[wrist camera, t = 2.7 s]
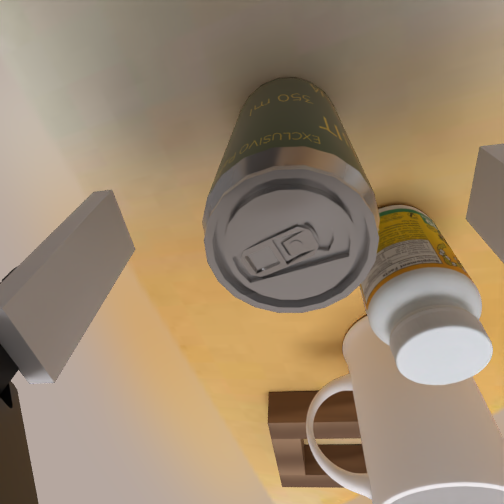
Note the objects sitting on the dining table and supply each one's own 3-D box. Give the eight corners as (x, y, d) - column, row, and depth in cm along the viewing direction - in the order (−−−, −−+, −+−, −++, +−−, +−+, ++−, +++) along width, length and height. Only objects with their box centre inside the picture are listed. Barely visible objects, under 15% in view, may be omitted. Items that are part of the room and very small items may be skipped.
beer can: (267, 188, 22) (255, 337, 13) (219, 108, 20) (157, 216, 10) (351, 146, 21) (413, 282, 11) (310, 52, 18) (341, 117, 8)
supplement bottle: (342, 213, 23) (373, 325, 15) (433, 192, 22) (517, 302, 14) (355, 278, 26) (386, 400, 18) (436, 263, 25) (507, 387, 17)
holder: (268, 392, 34) (267, 423, 32) (403, 388, 32) (413, 420, 30) (282, 457, 41) (282, 486, 38) (394, 457, 39) (401, 488, 37)
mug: (302, 377, 33) (311, 541, 23) (300, 307, 28) (310, 476, 18) (441, 377, 31) (514, 551, 21) (465, 303, 26) (572, 484, 17)
